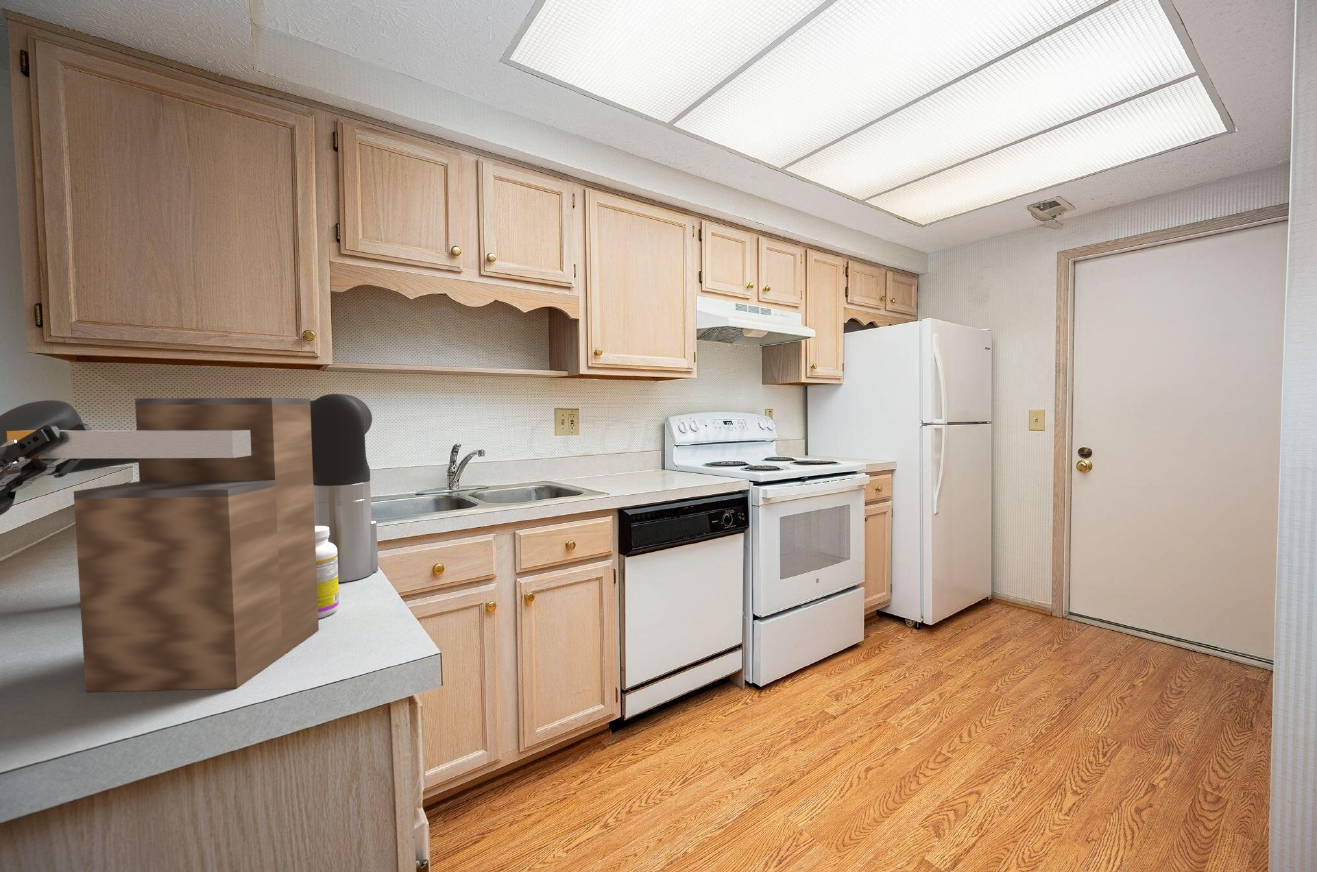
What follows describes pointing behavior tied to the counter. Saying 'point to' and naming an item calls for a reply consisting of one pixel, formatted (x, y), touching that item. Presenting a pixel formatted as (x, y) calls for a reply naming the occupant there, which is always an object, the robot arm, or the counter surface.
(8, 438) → the bar
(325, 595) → the supplement bottle
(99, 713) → the counter surface
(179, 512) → the stand
